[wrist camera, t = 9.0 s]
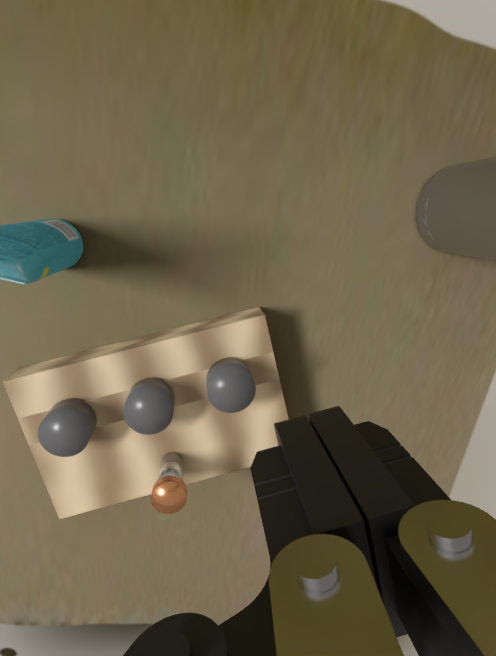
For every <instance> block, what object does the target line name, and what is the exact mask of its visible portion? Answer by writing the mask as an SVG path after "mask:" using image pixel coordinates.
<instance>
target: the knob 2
mask: <svg viewBox="0 0 496 656" xmlns="http://www.w3.org/2000/svg"><path fill="white" fill-rule="evenodd" d="M206 381H207V395H208V399H209V401H210V403H211V404H212V405H213V406H214V407H215V408H216V409H218V410H220V411H222V412H225V413H236V412H239V411H242V410H244V409H245V408H247V407H248V406H249V405H250V404H251V402H252V401H253V399H254V397H255V392H256V386H255V382H254V379H253V377H252V374H251V371H250V369H249V367H248V366H247V365H246V364H245V363H244V362H243V361H241V360H239V359H237V358H230V357H229V358H223V359H220V360H218V361H217V362H215V363H214V364H213V365H212V366H211V367H210V369H209V371H208V373H207V378H206Z"/></svg>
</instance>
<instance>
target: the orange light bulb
mask: <svg viewBox="0 0 496 656" xmlns="http://www.w3.org/2000/svg"><path fill="white" fill-rule="evenodd" d="M183 468H184V460H183V457H182V456H181V455H180V454H179V453H176V452H169V453H166V454H165V455H164V456H163V457H162V459H161V463H160V470H159V477H158V480H157V481H156V482H155V484H154V486H153V489H152V495H151V503H152V505H153V507H154V508H155V509H156V510H157V511H158V512H161V513H164V514H172V513H176V512H178V511H179V510H181V509H182V508H183V507H184V505H185V503H186V496H187V488H186V485H185V483H184V482H183Z"/></svg>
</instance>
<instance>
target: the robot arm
mask: <svg viewBox="0 0 496 656" xmlns="http://www.w3.org/2000/svg"><path fill="white" fill-rule="evenodd" d="M416 222H417V227H418V230H419V232H420V234H421V236H422V238H423V239H424V240H425V242H426V243H427V244H428V245H429V246H431V247H432V248H433V249H435V250H438V251H440V252H444V253H449V254H456V255H463V256H469V257H476V258H483V259H490V260H496V157H493V158H488V159H483V160H478V161H473V162H468V163H463V164H458V165H454V166H450V167H447V168H445V169H443V170H441V171H439V172H438V173H436V174H435V175H434V176H432V178H431V179H430V180H429V181H428V182H427V183H426V184H425V186H424V188H423V189H422V191H421V193H420V196H419V199H418V201H417V207H416ZM274 428H275V433H276V437H277V441H278V445H279V446H276V447H272V448H268V449H265V450H261V451H257V453H256V455H255V458H254V460H253V463H252V465H251V467H250V468H251V472H252V477H253V481H254V486H255V491H256V495H257V499H258V504H259V509H260V514H261V518H262V523H263V527H264V532H265V536H266V541H267V546H268V550H269V555H270V562H271V564H270V572H269V576H268V579H267V581H266V584H265V586H264V587H263V589H262V591H261V592H260V594H259V595H258V596H257V597H256V598H255V600H254V601H253V602H251V603H250V604H249V605H248V606H247V607H246V608H244V609H243V610H242V611H240V612H239V613H237V614H236V615H234V616H233V617H231V618H230V619H228V620H226V621H225V622H223V623H222V624H220V625H219V626H218V625H217V624H216V623H215V622H214V621H213V620H211V619H210V618H208V617H206V616H204V615H201V614H197V613H180V614H176V615H172V616H169V617H167V618H164V619H162V620H160V621H159V622H157V623H155V624H154V625H152V626H151V627H149V628H148V629H147V630H145V631H144V632H143V633H142V634H141V635H140V636H139V637H138V638H137V639H136V640H135V641H134V643H133V644H132V645H131V646H130V648H129V649H128V650H127V651H126V653H125V654H124V655H123V656H404V655H403V653H402V650H401V647H400V645H399V642H398V640H397V637H399V636H402V635H406V634H408V635H409V637H410V639H411V641H412V643H413V645H414V647H415V649H416V651H417V653H418V655H419V656H496V519H494V518H493V517H492V516H491V515H489V514H488V513H486V512H485V511H483V510H481V509H480V508H477V507H475V506H473V505H470V504H466V503H464V502H459V501H452V500H451V499H450V498H449V497H448V496H447V495H446V494H445V493H444V491H443V490H442V489H441V488H440V487H439V486H438V485H437V484H436V483H435V481H434V480H433V479H432V478H431V477H430V476H429V475H428V474H427V473H426V472H425V470H424V469H423V468H422V467H421V466H420V465H419V464H418V463H417V462H416V460H415V459H414V458H413V457H412V458H411V456H410V454H409V453H408V452H407V451H406V449H405V448H404V447H403V446H401V445H400V443H399V442H398V441H397V440H396V438H395V437H394V436H393V435H392V434H391V433H390V432H389V431H388V430H387V429H385V428H383V427H380V426H378V425H376V424H374V423H372V422H369V421H367V422H363V423H360V424H356V425H353V423H352V422H351V421H350V419H349V418H348V417H347V416H346V414H345V413H344V412H343V410H342V409H341V408H340V407H339V406H336V407H333V408H329V409H325V410H322V411H318V412H314V413H310V414H307V417H306V416H305V415H303V416H300V417H296V418H292V419H289V420H285V421H281V422H277V423H274Z"/></svg>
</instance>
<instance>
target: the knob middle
mask: <svg viewBox="0 0 496 656" xmlns="http://www.w3.org/2000/svg"><path fill="white" fill-rule="evenodd" d="M174 405H175V395H174V392H173V390H172V388H171V387H170V385H169V384H167V383H166V382H165V381H163V380H161V379H158V378H145V379H142V380H140V381H138V382H137V383H136V384H134V386H133V387H132V388H131V390H130V392H129V395H128V397H127V400H126V402H125V405H124V409H123V414H124V419H125V421H126V423H127V424H128V426H129V427H130V428H131V429H133V430H134V431H136V432H138V433H141V434H145V435H151V434H156V433H159V432H161V431H163V430H164V429H166V428H167V427H168V426H169V424H170V423H171V421H172V418H173V413H174Z"/></svg>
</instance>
